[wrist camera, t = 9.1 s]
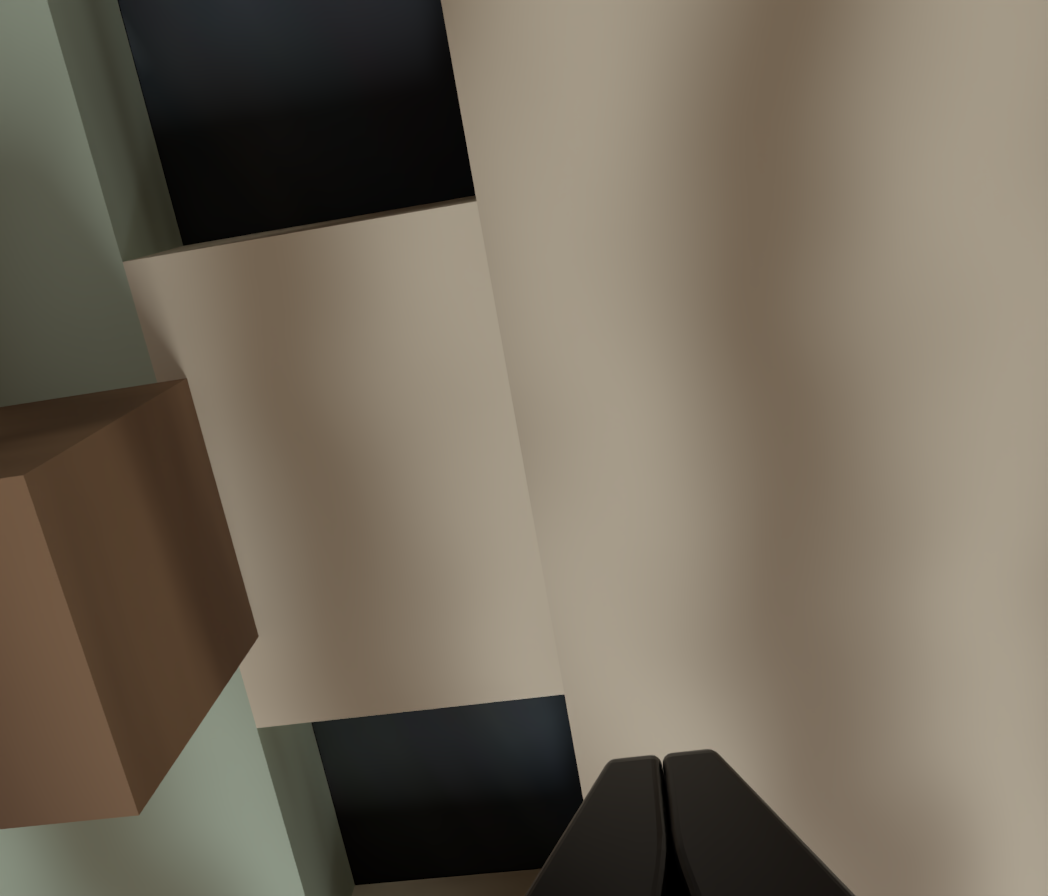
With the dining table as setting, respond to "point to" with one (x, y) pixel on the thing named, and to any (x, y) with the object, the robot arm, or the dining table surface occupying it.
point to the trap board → (596, 424)
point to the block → (109, 600)
